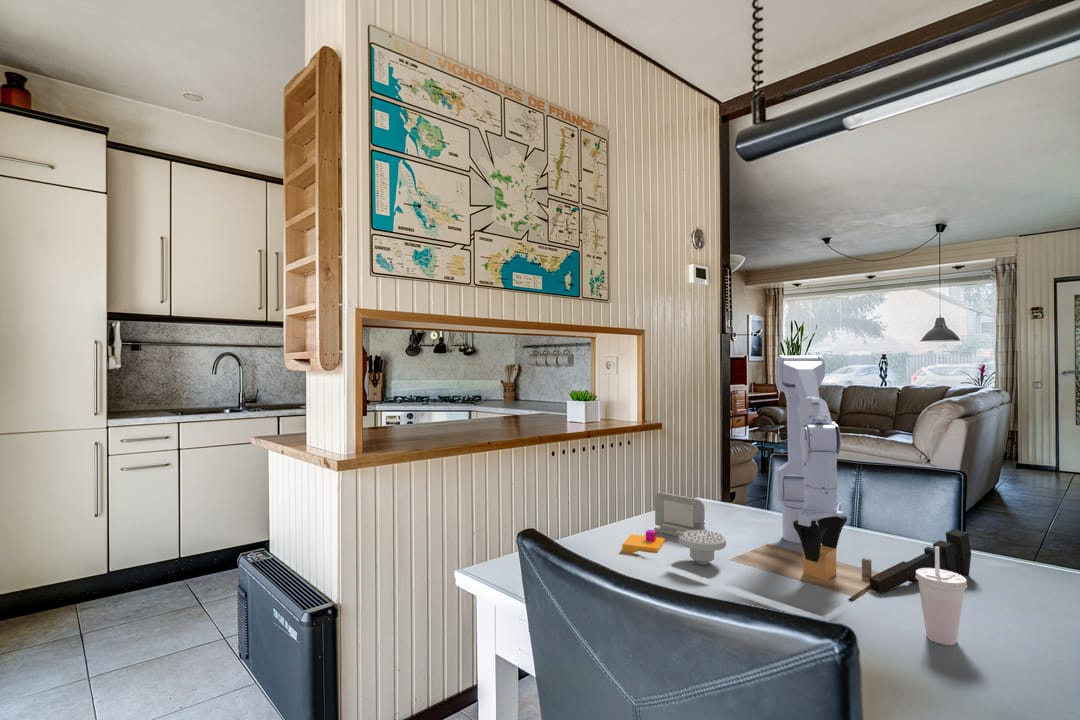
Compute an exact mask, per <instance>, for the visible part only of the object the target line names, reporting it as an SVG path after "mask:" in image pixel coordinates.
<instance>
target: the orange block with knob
mask: <svg viewBox="0 0 1080 720" xmlns="http://www.w3.org/2000/svg"><path fill="white" fill-rule="evenodd" d="M665 543H666V538H665V537H660V536H659V537H658V536H657V532H656V531H655V530H654V529H647V530H646V531H645V535H642V534H641V535H640V534H634V533H633V534H632V533H631V534H630V535H629V536H628V537H627V539H625V541H624V542H623V543H622V544H621V546H622V547H621V548H622V549H621V550H622V551H621V552H622V553H625V554H634V555H636V552H639V551H644V552H652V553H659V552H660V551H661V549H662V547H663V546H664V544H665Z"/></svg>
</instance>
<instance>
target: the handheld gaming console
mask: <svg viewBox="0 0 1080 720" xmlns="http://www.w3.org/2000/svg"><path fill="white" fill-rule="evenodd" d="M654 523H655V526H658V527H654V529H653V530H655V531H656V533H658V532H660V533H659V534H663V533H664V535H667V534H668V536H671V535H672V537H675V536H676V537H675V538H679V535H678V534H676V531H680V532H684V531H689V530H694V529H695V530H703V531H705V530H707V527H705V525H706V523H705V502H703V500H701V499H699V498H694V497H689V496H683V495H677V494H672V493H667V492H659V493H656V494H655V497H654Z"/></svg>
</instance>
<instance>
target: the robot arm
mask: <svg viewBox="0 0 1080 720" xmlns="http://www.w3.org/2000/svg"><path fill="white" fill-rule="evenodd" d="M825 374H826V363H825V359H824V357H823V356H822V355H821V354H817V355H782V354H779V355H778V356H777V357H776V358H775V385H776V389H777V391H780V392H782V393H783V394H784V396H785V400H786V421H787V422H786V424H787V425H786V426H787V460H788V461H786V462H785V463H784V464H782V465H781V466H779V467H778V468H777V470H776V471H775V481H774V485H775V486H774V487H775V489H774V490H775V498H776V500H777V501H778V503H781V504H782V509H781V510H782V519H781V520H782V521H781V522H782V539H784V540H785V541H787V542H790V543H795V544H801V545H802V551H803V550H804V554H805V558H806V560H810V561H814V562H818V560H819V557H820V549H821V545H822V546H826V547H831V548H835V549H836V550H837V548H838V547H837V546H838V544H839V539H840V535H841V532H842V529H844V528H843V527H844V526H845V524H846V523H847V521H848V517H847V516H846V515H845V514H844V511H842V503H841V502H838V467H837V466H838V462H837V461H838V457H837V455H839V454H840V452H841V446H842V435H841V431H840V427H839V425H838V424H837V423H836V421H832V417H831V412H830V410H829V406H828V403H827V402H826V400H825V399H823V398H821V397H820V392H819V388H820V387H821V385H822V382H823V380H824V379H825ZM794 475H795V476H794Z"/></svg>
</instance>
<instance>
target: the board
mask: <svg viewBox="0 0 1080 720" xmlns="http://www.w3.org/2000/svg"><path fill="white" fill-rule="evenodd" d="M729 561H732V562H736V563H740V564H742V565H745V566H746V565H747V566H749V567H753V568H757V569H759V570H763V571H765V572H770V573H773V574H776V575H779V576H783V577H786V578H790V579H793V580H797V581H800V582H804V583H807V584H811V585H813V586H817V587H820V588H824V589H828V590H830V591H833V592H838V593H841V594H844V595H848V596H851V597H849V598H848V599H847V601H849V602H855V601H856V600H857V599H859V598H861V597H862V596H863V595H865V594H866V593H868V592H869V591H872V590H871V584H870V580H869V578H870V577H872V576H874V575H876V574H878V573H880V571H876V570H873V569H872V559H871V558H868V557H862V558H861V567H860V566H856V565H853V564H848V563H846V562H842V561H838V560H836V575H835V576H833V577H831V578H830V579H828V580H824V579H820V578H817V577H813V576H809V575H806V574H803V551H802V552H801V551H799V550H794V549H790V548H786V547H782V546H778V545H776V544H770V543H766V544H763V545H761V546H759V547H756V548H754V549H752V550H749V551H747V552H744V553H742V554H740V555H737V556H735V557H733V558H730V559H729Z"/></svg>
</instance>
